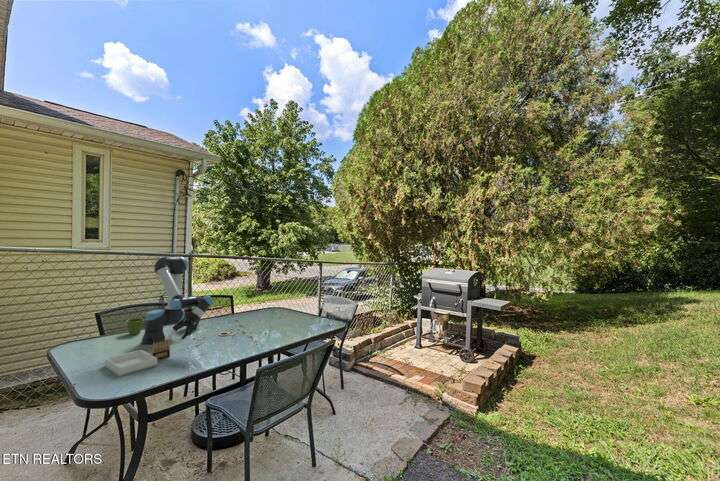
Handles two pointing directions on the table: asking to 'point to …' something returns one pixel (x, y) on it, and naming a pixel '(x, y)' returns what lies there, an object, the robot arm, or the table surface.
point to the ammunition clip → (161, 350)
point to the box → (130, 362)
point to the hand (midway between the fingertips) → (172, 340)
